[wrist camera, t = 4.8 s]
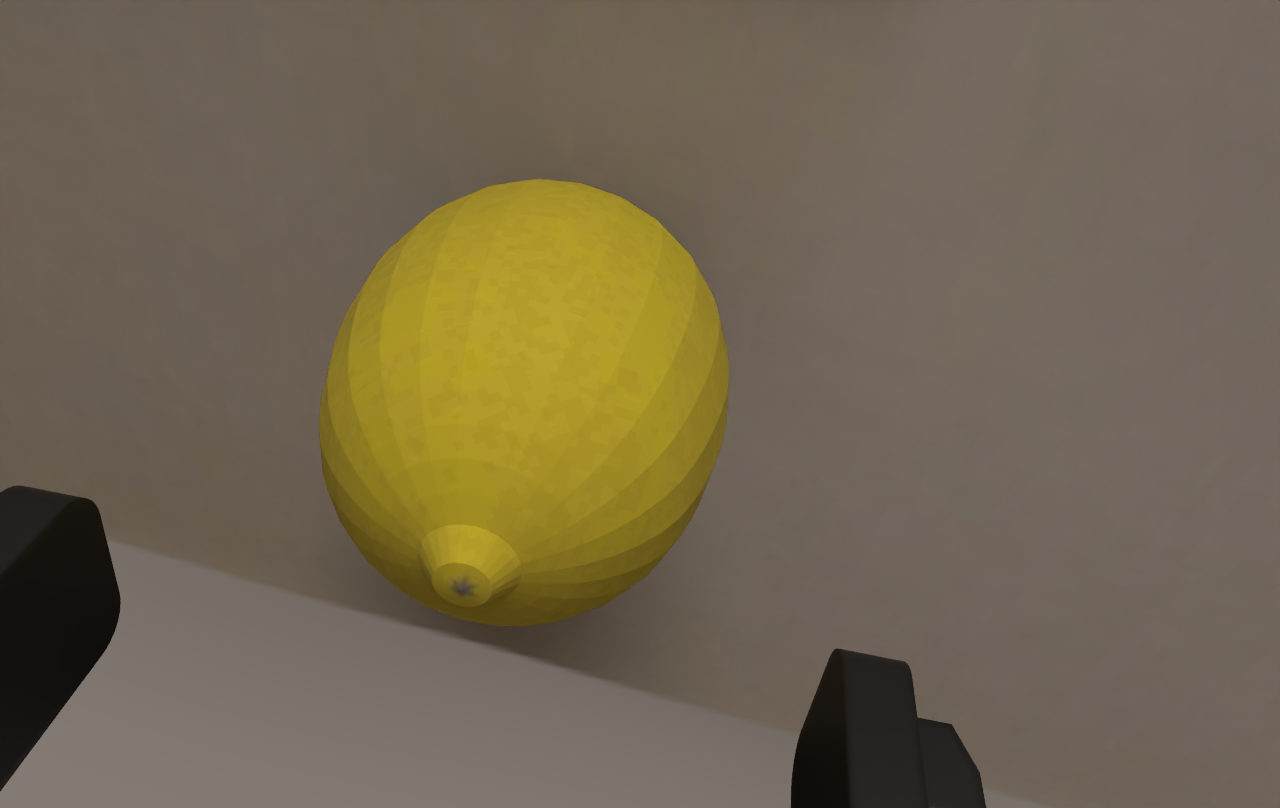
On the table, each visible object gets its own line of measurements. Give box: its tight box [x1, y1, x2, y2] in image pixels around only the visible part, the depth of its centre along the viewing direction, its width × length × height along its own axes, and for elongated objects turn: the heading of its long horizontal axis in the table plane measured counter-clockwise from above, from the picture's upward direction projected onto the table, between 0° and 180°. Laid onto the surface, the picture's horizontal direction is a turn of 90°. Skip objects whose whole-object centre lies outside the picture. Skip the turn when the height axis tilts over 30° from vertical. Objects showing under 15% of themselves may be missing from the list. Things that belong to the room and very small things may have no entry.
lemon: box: [319, 179, 729, 626], centre depth 14 cm, size 6×6×8 cm
